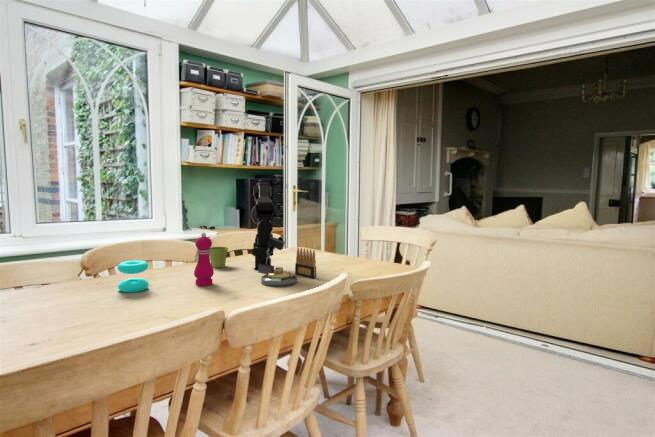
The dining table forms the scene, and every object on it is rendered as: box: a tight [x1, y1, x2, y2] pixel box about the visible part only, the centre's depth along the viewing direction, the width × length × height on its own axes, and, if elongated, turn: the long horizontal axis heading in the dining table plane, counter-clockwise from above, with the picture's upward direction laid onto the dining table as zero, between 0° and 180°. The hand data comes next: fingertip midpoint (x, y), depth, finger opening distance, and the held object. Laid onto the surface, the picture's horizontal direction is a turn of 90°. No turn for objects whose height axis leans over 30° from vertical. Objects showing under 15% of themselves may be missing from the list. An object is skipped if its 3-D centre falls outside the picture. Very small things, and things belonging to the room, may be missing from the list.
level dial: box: [257, 264, 291, 279], centre depth 164 cm, size 15×9×4 cm, turn 56°
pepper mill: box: [193, 232, 215, 287], centre depth 157 cm, size 7×7×20 cm
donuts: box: [117, 259, 149, 293], centre depth 148 cm, size 10×10×10 cm
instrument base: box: [260, 274, 298, 288], centre depth 163 cm, size 14×14×3 cm
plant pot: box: [209, 246, 229, 269], centre depth 188 cm, size 9×9×9 cm
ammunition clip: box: [294, 247, 317, 280], centre depth 173 cm, size 11×2×12 cm, turn 52°
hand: (263, 268), depth 171 cm, fingers closed
